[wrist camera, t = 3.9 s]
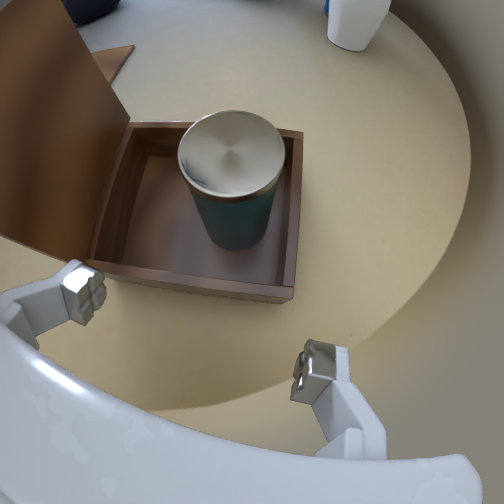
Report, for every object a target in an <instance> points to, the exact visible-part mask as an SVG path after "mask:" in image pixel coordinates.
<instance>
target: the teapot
mask: <svg viewBox="0 0 504 504" xmlns="http://www.w3.org/2000/svg"><path fill="white" fill-rule="evenodd" d="M119 1H120V0H61V2H62V4H63V5H64V7H65V9H66V11H67V13H68V14H69V16H70V18H71V20H72V21H73V23H74V24H83V23H86V22H89V21H92V20H94V19H96V18H98V17H100V16H102V15H104V14H106V13H107V12H109V11H110V10H112V9H113V8H115V7H116V6H117V5H118V3H119Z"/></svg>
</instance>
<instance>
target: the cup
mask: <svg viewBox="0 0 504 504" xmlns="http://www.w3.org/2000/svg"><path fill="white" fill-rule="evenodd" d="M390 2H391V0H329V19H328V34H327V36H328V38H329V40H330V41H332V42H333V43H334V44H336V45H337V46H339V47H342V48H344V49H347V50H352V51H362V50H364V49H365V48H366V46H367V45H368V43H369V41H370V40H371V38H372V37H373V35H374V34H375V32H376V30H377V29H378V27H379V26H380V24H381V23H382V21H383V19H384V18H385V16H386V15H387V13H388V10H389V6H390Z"/></svg>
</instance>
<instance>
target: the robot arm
mask: <svg viewBox="0 0 504 504" xmlns="http://www.w3.org/2000/svg"><path fill="white" fill-rule="evenodd" d="M104 280H105V277H104V272H102V271H101V270H99V269H96V268H94V267H92V266H90V265H88V264H85V263H83V262H81V261H79V260H76V259H73V260H71V261H70V262H68V263H67V264H66V265H65V266H64V267H63V268H61V269H60V270H59V271H58V272H57V273H56V274H55V275H54V276H52V277H51V278H50V279H48V278H46V279H42V280H39V281H36V282H32V283H29V284H26V285H22V286H19V287H16V288H12V289H9V290H6V291H3V292H2V293H1V294H0V504H483V493H482V483H481V478H480V476H479V474H478V472H477V471H476V469H475V468H474V467H473V465H472V464H471V463H470V461H469V460H468V459H467V458H466V457H465V456H464V455H462V454H452V455H445V456H438V457H429V458H419V459H402V460H388V450H387V433H386V429H385V427H384V426H383V424H382V423H381V421H380V420H379V419H378V417H377V416H376V414H375V413H374V412H373V410H372V408H371V407H370V406H369V404H368V403H367V401H366V400H365V399H364V397H363V396H362V394H361V393H360V391H359V390H358V388H357V387H356V386H355V384H353V383H351V379H350V364H349V351H348V348H347V347H342V346H338V345H333V344H329V343H324V342H320V341H316V340H312V339H308V340H307V342H306V343H305V345H304V351H303V352H301V353H300V354H299V356H298V358H297V360H296V363H295V366H294V371H293V377H294V378H295V381H294V383H293V384H292V388H291V397H290V400H292V401H296V402H301V403H305V404H310V405H311V407H312V409H313V411H314V413H315V415H316V417H317V420H318V422H319V424H320V426H321V428H322V430H323V433H324V435H325V437H326V439H327V441H328V444H327V445H326V446H324V447H323V448H321V449H320V450H319V451H317V452H316V453H315V456H306V455H298V454H293V453H286V452H280V451H275V450H270V449H264V448H260V447H255V446H250V445H246V444H242V443H238V442H234V441H230V440H227V439H223V438H219V437H216V436H212V435H209V434H206V433H203V432H200V431H197V430H194V429H191V428H188V427H185V426H182V425H179V424H176V423H174V422H171V421H169V420H166V419H163V418H161V417H158V416H156V415H153V414H151V413H149V412H146V411H144V410H142V409H139V408H137V407H135V406H133V405H131V404H128V403H126V402H124V401H122V400H120V399H118V398H116V397H114V396H112V395H110V394H108V393H106V392H104V391H102V390H100V389H99V388H97V387H95V386H93V385H91V384H89V383H88V382H86V381H84V380H82V379H81V378H79V377H77V376H76V375H74V374H72V373H71V372H69V371H67V370H66V369H64V368H63V367H61V366H60V365H58V364H56V363H55V362H53V361H52V360H50V359H49V358H47V357H46V356H45V355H43V354H42V353H40V352H39V351H37V350H38V349H39V344H38V341H37V339H36V336H38V335H40V334H42V333H44V332H46V331H48V330H50V329H52V328H54V327H56V326H58V325H60V324H62V323H64V322H66V321H68V320H70V319H71V320H73V321H75V322H77V323H79V324H81V325H83V326H86V325H87V323H88V322H89V321H90V320H91V319H92V317H93V316H94V311H95V310H98V309H100V308H101V306H102V305H103V304H104V301H105V299H106V293H107V292H106V287H105V285H104V284H103V281H104Z"/></svg>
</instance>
